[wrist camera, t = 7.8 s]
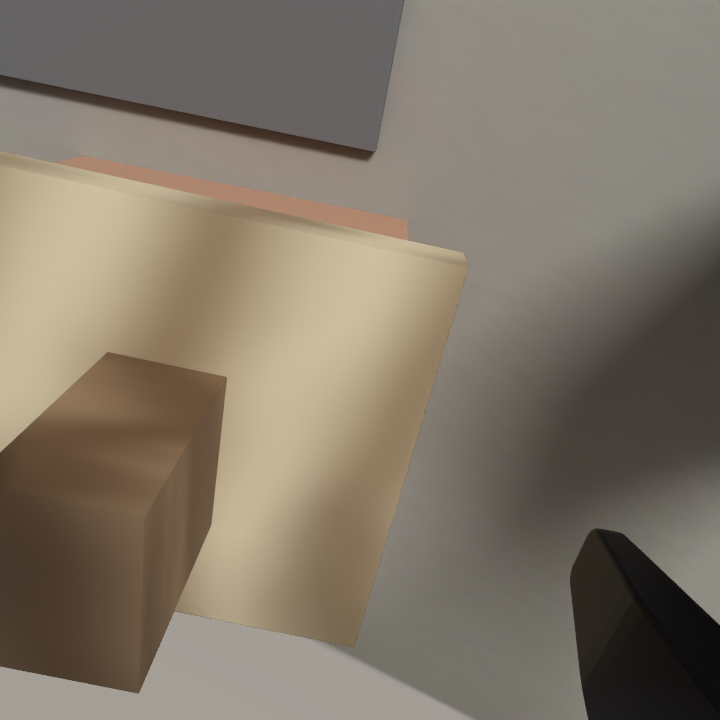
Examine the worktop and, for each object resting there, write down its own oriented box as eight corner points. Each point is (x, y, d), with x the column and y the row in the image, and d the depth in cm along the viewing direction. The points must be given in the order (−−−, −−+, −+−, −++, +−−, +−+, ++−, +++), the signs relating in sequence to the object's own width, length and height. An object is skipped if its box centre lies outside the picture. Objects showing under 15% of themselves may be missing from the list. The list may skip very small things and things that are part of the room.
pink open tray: (407, 218, 19) (408, 275, 14) (352, 473, 24) (337, 586, 19) (85, 155, 19) (-40, 187, 14) (96, 425, 24) (8, 525, 19)
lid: (463, 252, 14) (503, 377, 8) (357, 615, 19) (337, 831, 14) (-83, 132, 13) (-435, 176, 8) (-22, 539, 19) (-196, 729, 14)
